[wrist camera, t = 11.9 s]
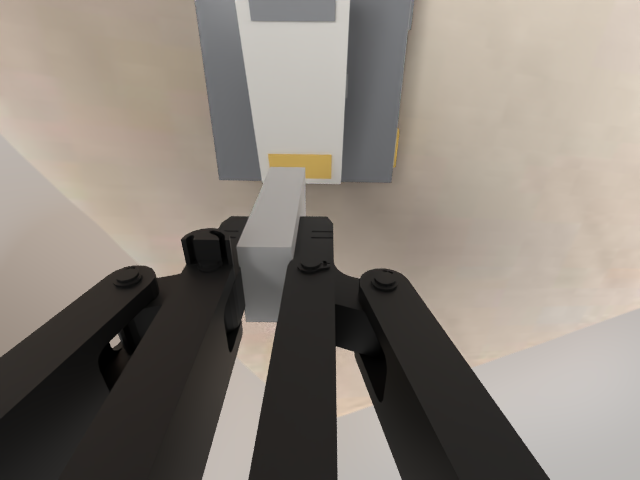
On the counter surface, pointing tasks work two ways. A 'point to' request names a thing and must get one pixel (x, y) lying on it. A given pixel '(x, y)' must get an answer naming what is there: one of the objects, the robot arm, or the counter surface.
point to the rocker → (297, 82)
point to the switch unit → (360, 95)
